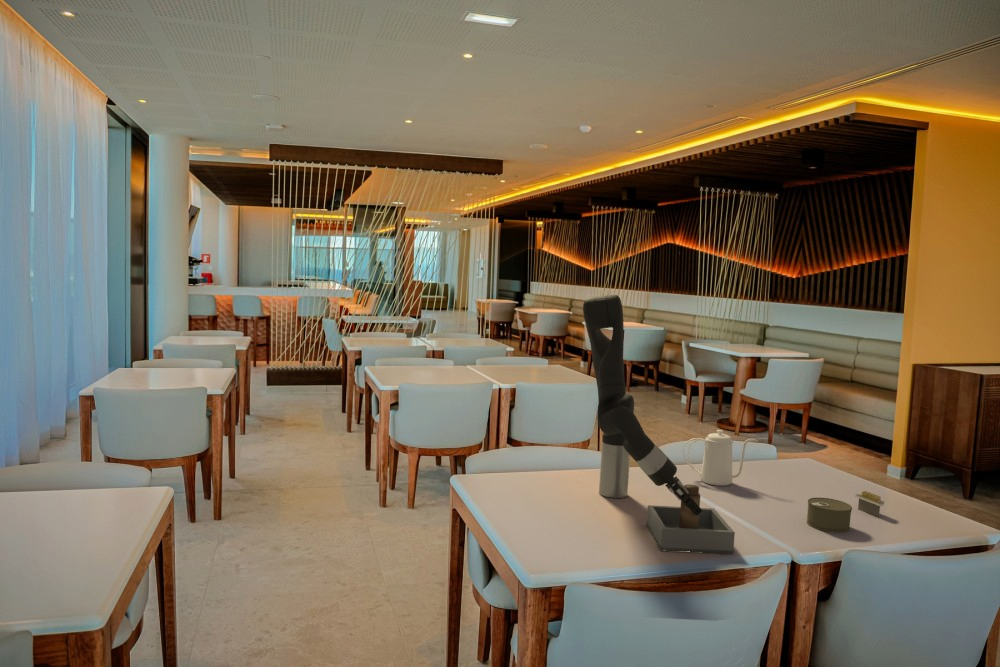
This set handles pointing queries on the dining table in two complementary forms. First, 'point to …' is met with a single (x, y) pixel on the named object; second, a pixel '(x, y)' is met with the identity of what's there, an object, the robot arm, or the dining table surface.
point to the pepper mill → (686, 514)
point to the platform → (869, 503)
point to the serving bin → (690, 531)
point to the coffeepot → (718, 459)
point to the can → (829, 515)
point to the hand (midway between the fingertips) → (696, 509)
